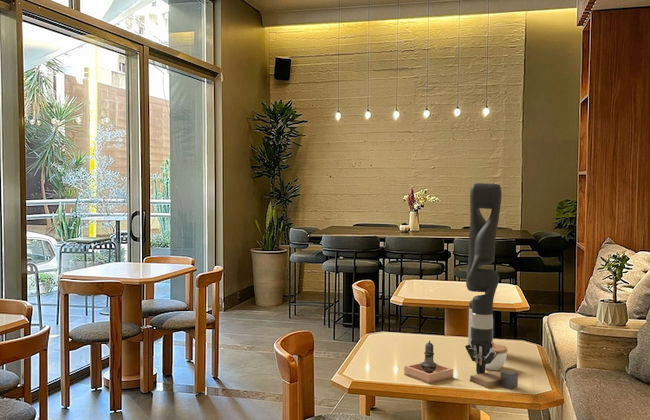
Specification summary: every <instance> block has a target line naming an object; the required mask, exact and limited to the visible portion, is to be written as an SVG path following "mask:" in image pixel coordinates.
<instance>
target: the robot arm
mask: <svg viewBox="0 0 650 420" xmlns="http://www.w3.org/2000/svg"><path fill="white" fill-rule="evenodd" d="M469 192H470V193H469V207H470V209H469V212H470V213H469V214H470V215H469V216H470V217H469V218H470V220H469V221H470V222H469V233H468V259H467V260H468V261H467V268H466V277H465V284H466V285H465V287H466V288H467V290H468V291H469V292H475V293H476V292H477V293H484V294H478V295H475V296H473V298H472V299H471V300H470V301H469V303H468V335H467V336H468V339H467V340H468V341H467V344H466V345H465V350H466V352H467V354H468V356H469V359H470V360H471V361H472V362H474V363H475V364H476V366H475V372H476V375H477V374H482V373H486V369H485V365H486V364H490V363H491V362H492V360H493V359H494V358H495V357H496V356H497V354H498V352H497V351H494V350H493V349H492V343H491V342H493V343H494V315H493V314H494V312H493V311H494V299H495V294H496V290H497V288H498V285H499V281H500V275H499V272H498V271H497V270H495V269H490V268H489V269H487V268H481V267H482V266H485V265H491V264H492V263H494V262H495V259H496V258H495V253H496V237H497V231H498V226H499V225H498V224H499V222H500V221H499V219H500V212H501V205H502V198H503V197H502V195H503V194H502V193H503V192H502V187H501V185H500V184H498V183H483V182H481V183H480V182H477V183H476V182H475V183H473V184H472V185H471V187H470V191H469ZM480 209H487V210H490V211H491V212H490V215H489V217H488V219H487V220H486V219H485V218H484V216H483V214H482V212H481V210H480ZM488 353H489V356H488Z"/></svg>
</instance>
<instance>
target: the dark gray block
mask: <svg viewBox="0 0 650 420" xmlns="http://www.w3.org/2000/svg"><path fill="white" fill-rule="evenodd" d="M500 373H501V377H500V386H499V387H502V388H504V389H507V390H513V389H517V388H518V386H519V385H518V383H519V382H518V381H519V372H517V371H514V370H511V369H505V370H502V371H501V370H500ZM516 387H517V388H516Z"/></svg>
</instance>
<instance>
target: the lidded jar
mask: <svg viewBox="0 0 650 420" xmlns="http://www.w3.org/2000/svg"><path fill="white" fill-rule="evenodd" d="M491 343H492V349H493V350H494V351H497V352H498V354H497V356H496V357H495V358H494V359H493V360H492V362H491V363H490V364H486V365H485V370H489V371H499V370H500V369H501V368H502V367H503V366H504V365H505V363H506V361H507V355H508V353H507V352H508V347H507V346H506V345H502V344H499V343H498V344H497V343H495V342H494V341H493V342H491ZM488 356H489V353H488Z"/></svg>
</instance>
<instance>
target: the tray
mask: <svg viewBox="0 0 650 420" xmlns="http://www.w3.org/2000/svg"><path fill="white" fill-rule="evenodd" d="M422 362H423V361H421V362H418V363H413V364H408V365H405V366H404V372H403V374H404V376H408V377H410V378H412V379H413V378H414V379H416V380H418V381H421V382H424V383H426V384H433V383H436V382H440V381H444V380H448V379H452V378H454V368H452V367H448V366H445V365H442V364H439V363H436V362H435V363H436V364H437V366H436V369H435V371H433V372H434V373H426V372H423V371H424V370H423V369H422V367H421V363H422Z"/></svg>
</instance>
